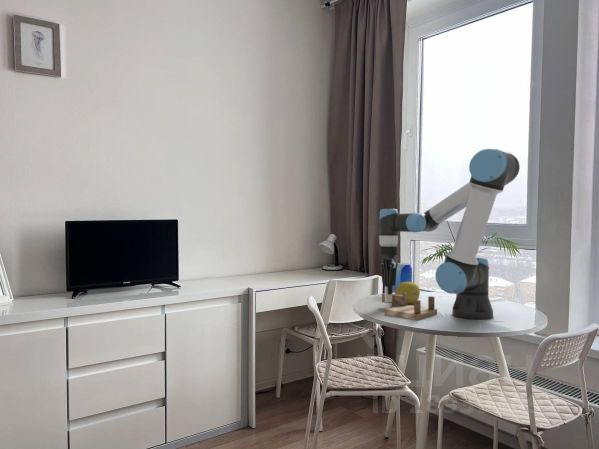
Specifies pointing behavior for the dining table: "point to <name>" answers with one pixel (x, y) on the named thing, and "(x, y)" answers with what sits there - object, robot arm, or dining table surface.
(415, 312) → the stool seat
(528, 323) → the dining table surface
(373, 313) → the dining table surface
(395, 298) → the hinge leg
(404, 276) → the beer can
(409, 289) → the fruit
